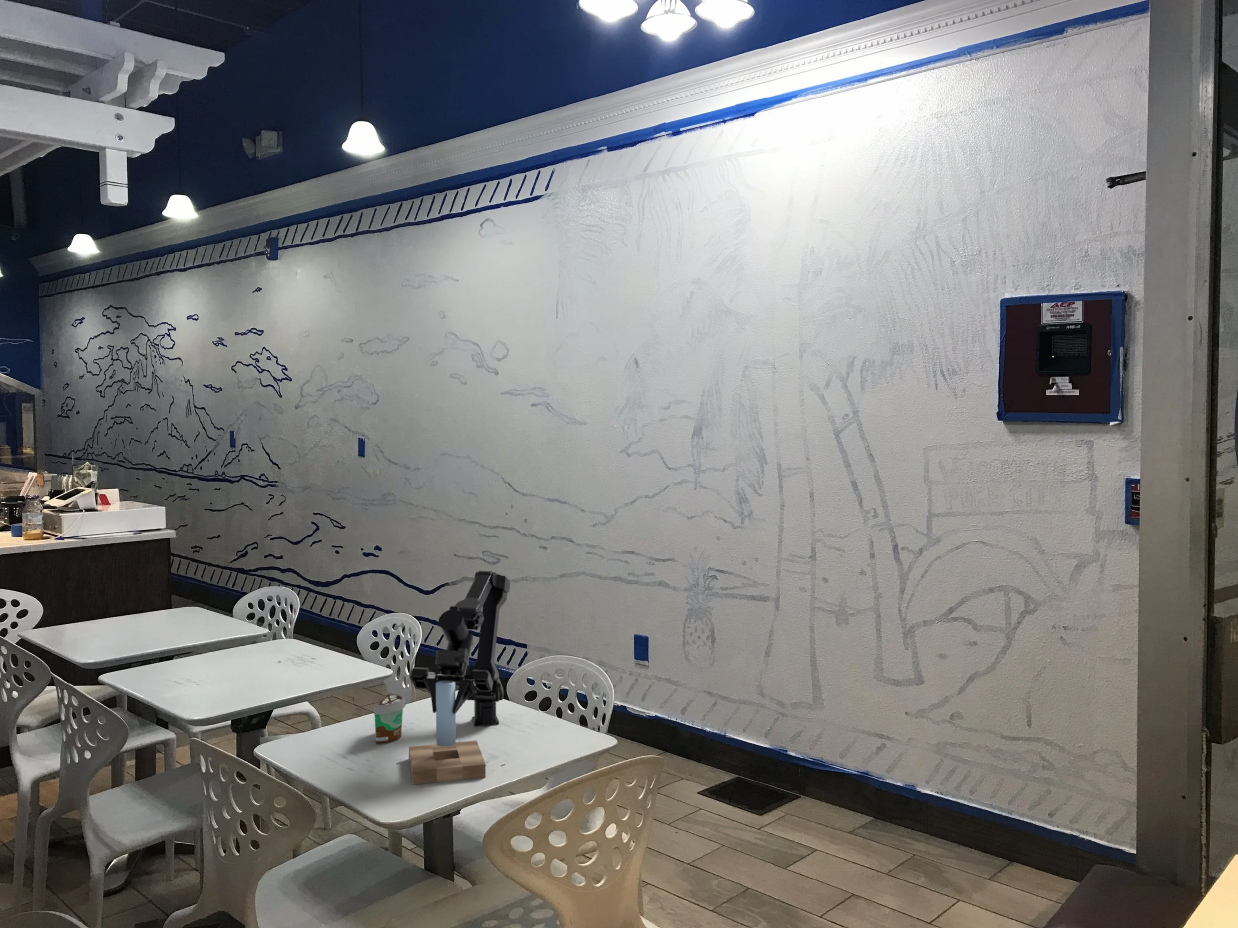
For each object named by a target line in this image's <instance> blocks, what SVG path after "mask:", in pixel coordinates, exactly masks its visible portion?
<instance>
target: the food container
mask: <svg viewBox="0 0 1238 928" xmlns="http://www.w3.org/2000/svg"><path fill="white" fill-rule="evenodd" d="M385 694H386V695H385V697H384V698H382V699H381V701H380V702H379V704H377V705H374V709H373V715H374V726H375V727H374V728H375V729H374V731H375V733H374V734H375V744H376V745H382V744H383V745H384V744H385V745H386V744H389V743H390V744H391V743H393V742H396V741H398V740H400V739H401V738H402V729H403V728H402V727H403V712H404V709H405V707H406V701H405V698H404V696H403V694H401V693H398V692H393V691H386V693H385Z"/></svg>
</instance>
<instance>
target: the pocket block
mask: <svg viewBox="0 0 1238 928" xmlns="http://www.w3.org/2000/svg"><path fill="white" fill-rule="evenodd" d="M408 760H409V761H408V762H409V767H410V774H411V780H412V785H422V783H423V784H432V783H441V782H451V781H452V780H453V781H460V780H462V781H463V780H471V778H473V779H479V778H480V779H481V778H486V776H487V775H486V765H487V764H486V762H485V760H484V756H483V753H482V751H481V748H480V745H479V743H478V740H476V739H475V740H465V741H463V740H462V741H456V743H455V744H454V745H452V746H438V745H437V744H436V743H433V744H431V743H430V744H420V745H411V746H408ZM453 781H452V782H453Z"/></svg>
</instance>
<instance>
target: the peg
mask: <svg viewBox="0 0 1238 928" xmlns="http://www.w3.org/2000/svg"><path fill="white" fill-rule="evenodd" d="M455 700H456V683H455V682H454V681H440V682H437V683H436V712H435V721H436V724H435V725H436V726H435V729H436V731H435V734H436V735H435V737H436V741H435V744H437V745H438V746H452V745H454V744H455V743H456V742H457V741H456V740H457V739H456V738H457V733H456V732H457V730H456V729H457V725H456V718H457V717H456V714H457V713H456V714H454V713H453V708H454V703H455Z"/></svg>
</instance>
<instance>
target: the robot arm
mask: <svg viewBox="0 0 1238 928" xmlns="http://www.w3.org/2000/svg"><path fill="white" fill-rule="evenodd" d="M510 581H511V580H510V579H508V577H506V575H501V574H498V573H496V571H493V570H478V571H475V574H474V580H473V582H472V584H471V585H470V587H469V589H468V591H467V593H466V594H465V598H464V599H462V600H459V601H457V602H456V604H455V605H454V606H452V605H451V606H449V609H448V610H446V611H444V612H443V613H442V614H441V615H440V616H439V617H438V626H439V628H440V629H441V632H442V634H443V636H444V639H445V640H447V645H446V649H444V650H443V649H442V650H439V649H438V650H436V655H435V665H437V669H438V671H440V673H437V672H433V671H431V670H430V668H429V667H418V666H417V667H416V666H414V667H413V668H412V669H411V670H410V673H409V679H410V681H411V682H412V685H413V687H414V689H415V688H416V689H419V690H427V691H428V692H429V693H430V697H431V698H430V699H431V708H432V713H433V714H436V683H437V682H440V681H454V682H455V684H458V690H457V693H456V696H455V703H454V708H453V713H454V714H457V713H458V711H459V710H460V709H461V708H462V706H463V705H464V704H465V702H467V701H473V702H474V704H473V705H474V707H473V709H474V711H473V712H474V716H472V717H471V721H472V723H473V725H474V727H476V726H477V727H479V726H481V727H482V726H491V725H499V724H500V720H499V718H498V716H497V702H498V703H499V701H504V687H503V684H502V683H501V679H500V672H499V671H498V669H497V666H496V664H495V657H496V648H497V637H498V628H499V627H498V626H499V617H500V611H501V608H502V607H503V606H504V604H505V603H506V602H507V599H508V598H507V597H508V594H509V593H510V590H511V582H510ZM478 630H479V637H478V644H477V645H478V647H477V655H476V661H475V662H474V664H473V665H470V662H469V659H470V655H471V650H472V646H474V645H473V644H474V635H473V634H472V632H471V631H478ZM469 665H470V666H469ZM468 667H469V668H468ZM467 668H468V674H466V673H467Z"/></svg>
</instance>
